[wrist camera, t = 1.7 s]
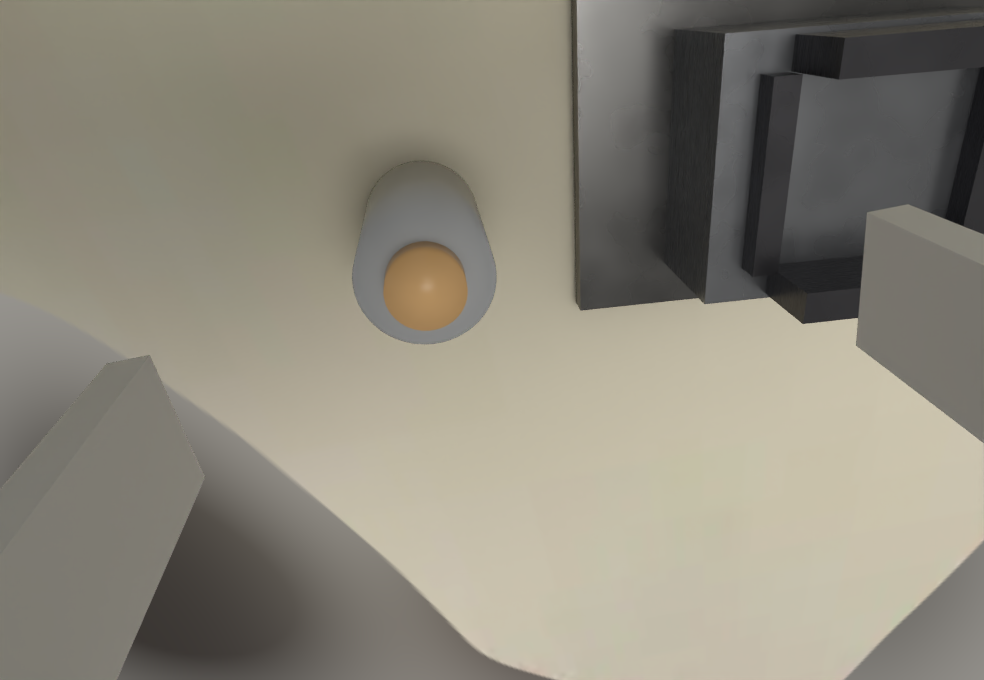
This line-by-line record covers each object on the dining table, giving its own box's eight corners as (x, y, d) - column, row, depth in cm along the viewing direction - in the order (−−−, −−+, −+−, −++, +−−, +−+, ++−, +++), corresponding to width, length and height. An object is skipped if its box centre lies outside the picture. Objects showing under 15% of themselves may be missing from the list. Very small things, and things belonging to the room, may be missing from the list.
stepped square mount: (576, 302, 34) (627, 395, 26) (571, -19, 27) (637, -29, 19) (961, 261, 35) (1127, 338, 27) (1041, -54, 29) (1286, -78, 21)
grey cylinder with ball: (374, 274, 32) (361, 366, 24) (358, 166, 30) (337, 227, 21) (481, 263, 32) (504, 351, 24) (472, 156, 30) (495, 212, 22)
